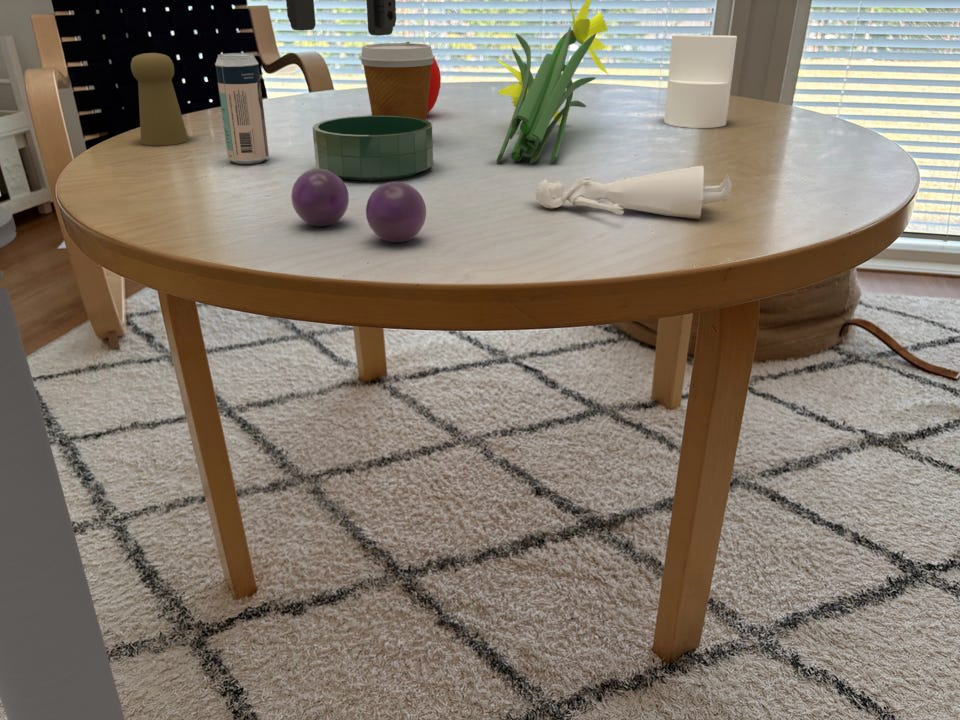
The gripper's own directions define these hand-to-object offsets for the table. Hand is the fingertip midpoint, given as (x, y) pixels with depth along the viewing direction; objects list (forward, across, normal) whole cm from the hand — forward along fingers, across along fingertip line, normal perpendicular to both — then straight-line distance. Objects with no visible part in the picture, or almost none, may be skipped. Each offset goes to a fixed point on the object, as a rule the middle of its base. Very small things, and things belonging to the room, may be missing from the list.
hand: (341, 32), depth 66 cm
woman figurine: (+16, +18, +18) cm, 30 cm away
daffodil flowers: (+16, -5, +44) cm, 47 cm away
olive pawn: (+16, -48, +15) cm, 53 cm away
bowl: (+16, -13, +18) cm, 27 cm away
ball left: (+16, -2, -2) cm, 16 cm away
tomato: (+16, -33, +49) cm, 61 cm away
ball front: (+16, +6, -2) cm, 17 cm away
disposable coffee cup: (+16, -21, +32) cm, 41 cm away
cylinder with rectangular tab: (+16, +6, +68) cm, 70 cm away
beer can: (+16, -29, +13) cm, 35 cm away
